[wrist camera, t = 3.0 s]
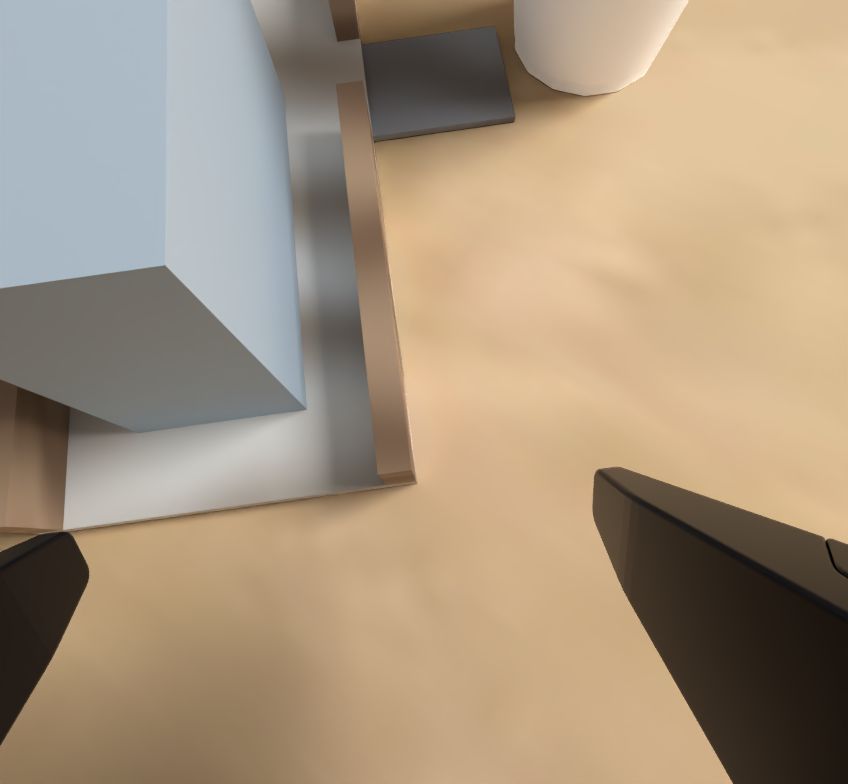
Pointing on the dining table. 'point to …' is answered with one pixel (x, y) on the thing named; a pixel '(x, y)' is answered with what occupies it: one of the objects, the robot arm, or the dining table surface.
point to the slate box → (146, 212)
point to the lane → (318, 298)
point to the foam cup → (591, 40)
